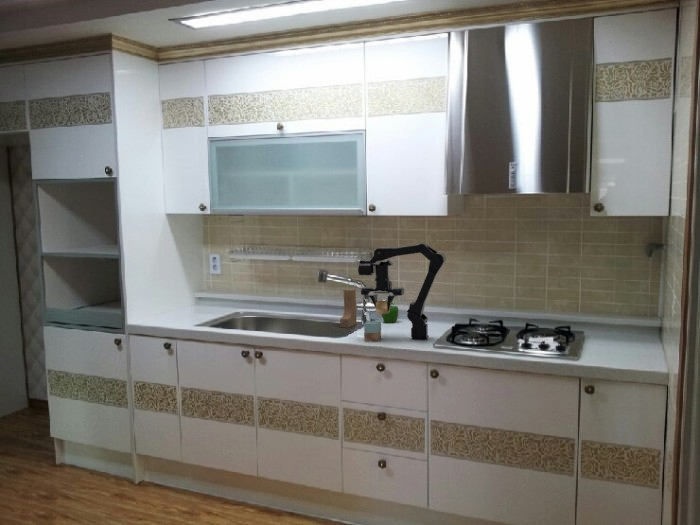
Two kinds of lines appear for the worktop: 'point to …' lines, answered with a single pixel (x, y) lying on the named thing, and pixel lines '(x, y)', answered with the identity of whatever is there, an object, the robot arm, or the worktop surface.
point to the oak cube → (382, 307)
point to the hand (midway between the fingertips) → (383, 310)
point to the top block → (372, 327)
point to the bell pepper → (391, 314)
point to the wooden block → (349, 309)
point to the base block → (372, 337)
